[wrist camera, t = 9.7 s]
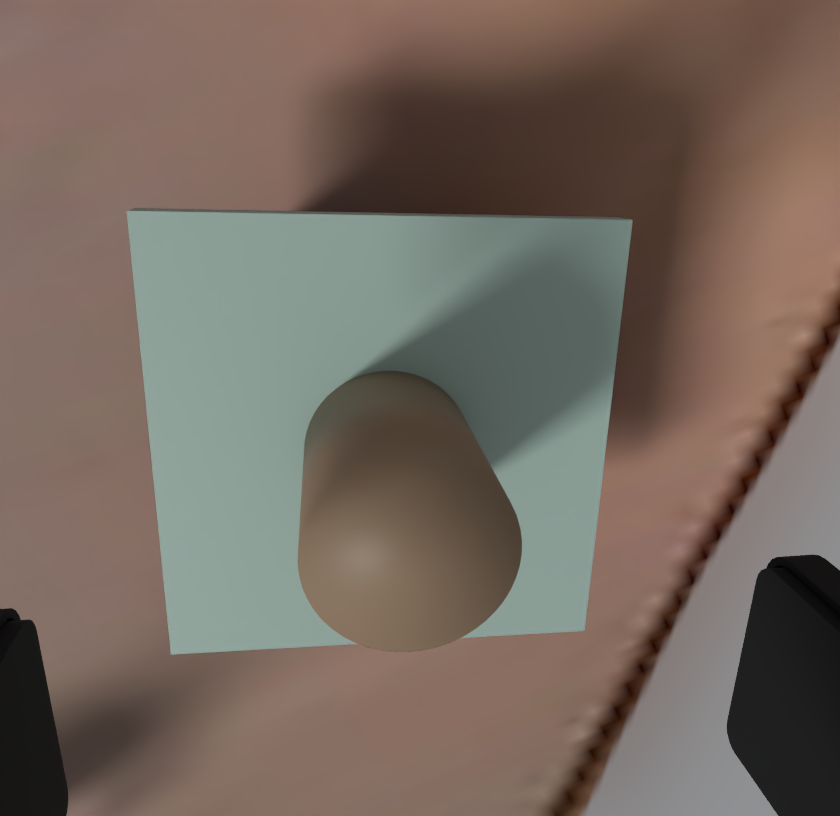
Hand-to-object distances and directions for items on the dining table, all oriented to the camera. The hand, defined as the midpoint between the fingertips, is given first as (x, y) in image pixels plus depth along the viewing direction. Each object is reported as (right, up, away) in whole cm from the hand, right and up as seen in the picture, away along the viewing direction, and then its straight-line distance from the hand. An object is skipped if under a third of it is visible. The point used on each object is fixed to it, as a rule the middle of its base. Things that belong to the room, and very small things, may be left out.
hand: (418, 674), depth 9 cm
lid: (-1, +3, +9) cm, 9 cm away
